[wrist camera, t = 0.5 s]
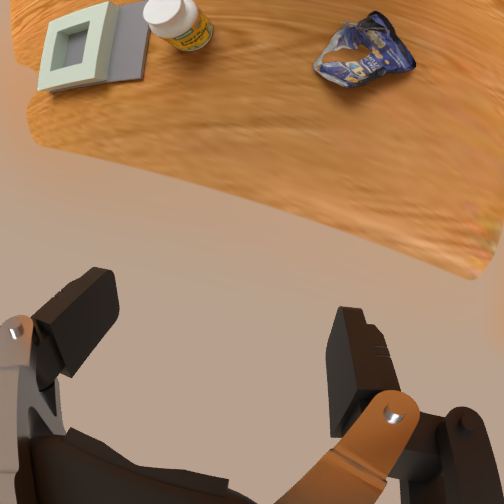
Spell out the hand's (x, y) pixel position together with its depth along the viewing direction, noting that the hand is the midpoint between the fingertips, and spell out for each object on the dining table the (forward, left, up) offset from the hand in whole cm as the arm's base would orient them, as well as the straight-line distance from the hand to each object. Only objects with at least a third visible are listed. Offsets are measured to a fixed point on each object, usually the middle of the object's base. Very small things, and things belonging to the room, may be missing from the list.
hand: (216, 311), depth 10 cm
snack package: (-18, +9, -27) cm, 34 cm away
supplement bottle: (-18, -11, -27) cm, 34 cm away
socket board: (-18, -26, -26) cm, 41 cm away
